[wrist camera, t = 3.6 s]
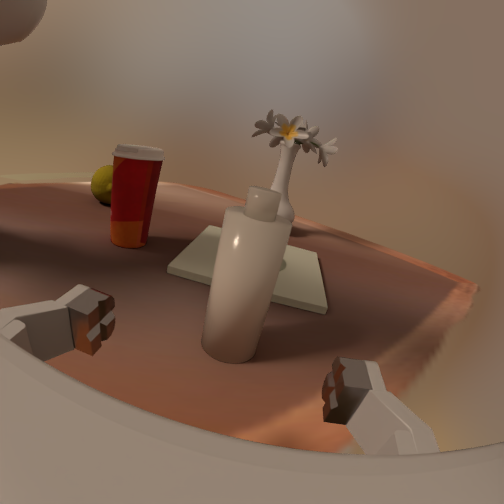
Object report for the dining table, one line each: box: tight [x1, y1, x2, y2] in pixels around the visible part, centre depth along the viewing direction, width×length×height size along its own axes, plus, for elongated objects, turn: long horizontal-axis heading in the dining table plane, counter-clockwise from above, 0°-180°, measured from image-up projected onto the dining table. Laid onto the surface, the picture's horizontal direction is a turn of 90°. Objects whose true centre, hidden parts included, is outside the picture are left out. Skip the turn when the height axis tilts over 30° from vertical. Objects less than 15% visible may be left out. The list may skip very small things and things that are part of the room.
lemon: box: [91, 165, 113, 204], centre depth 56 cm, size 11×8×8 cm
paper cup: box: [111, 144, 165, 248], centre depth 39 cm, size 8×8×14 cm
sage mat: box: [167, 225, 328, 314], centre depth 45 cm, size 20×20×1 cm
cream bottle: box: [201, 186, 292, 363], centre depth 24 cm, size 5×5×14 cm
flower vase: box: [252, 110, 338, 223], centre depth 62 cm, size 13×18×25 cm
